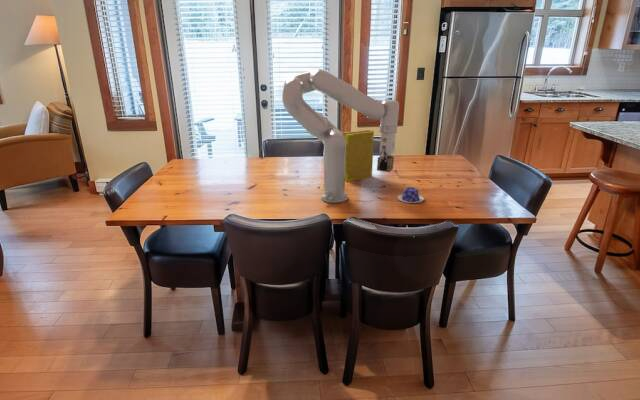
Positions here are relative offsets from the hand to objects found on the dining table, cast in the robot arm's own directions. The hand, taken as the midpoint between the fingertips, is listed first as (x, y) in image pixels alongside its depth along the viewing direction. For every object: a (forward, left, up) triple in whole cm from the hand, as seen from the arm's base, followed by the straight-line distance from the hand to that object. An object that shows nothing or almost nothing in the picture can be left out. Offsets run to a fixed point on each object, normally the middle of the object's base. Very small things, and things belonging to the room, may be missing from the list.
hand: (385, 167), depth 171 cm
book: (+21, +20, -14) cm, 33 cm away
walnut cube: (0, 0, -1) cm, 1 cm away
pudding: (+1, -13, -15) cm, 19 cm away
